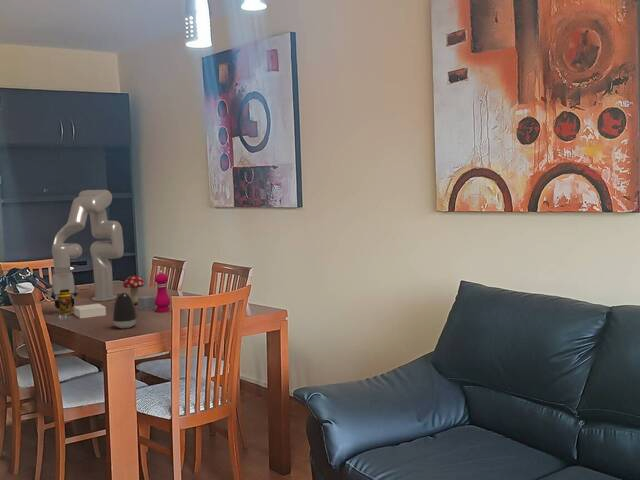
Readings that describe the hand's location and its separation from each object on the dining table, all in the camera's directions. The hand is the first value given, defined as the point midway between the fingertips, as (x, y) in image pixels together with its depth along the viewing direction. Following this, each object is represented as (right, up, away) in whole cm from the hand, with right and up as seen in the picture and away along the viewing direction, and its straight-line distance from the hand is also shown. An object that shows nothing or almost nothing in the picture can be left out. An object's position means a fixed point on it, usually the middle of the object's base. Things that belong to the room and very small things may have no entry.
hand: (64, 307), depth 351 cm
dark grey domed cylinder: (+39, -6, -37) cm, 54 cm away
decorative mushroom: (+29, -1, +19) cm, 35 cm away
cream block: (+14, -3, -5) cm, 15 cm away
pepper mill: (+48, -2, -2) cm, 48 cm away
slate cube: (+39, -2, +6) cm, 39 cm away
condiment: (0, -3, 0) cm, 3 cm away
